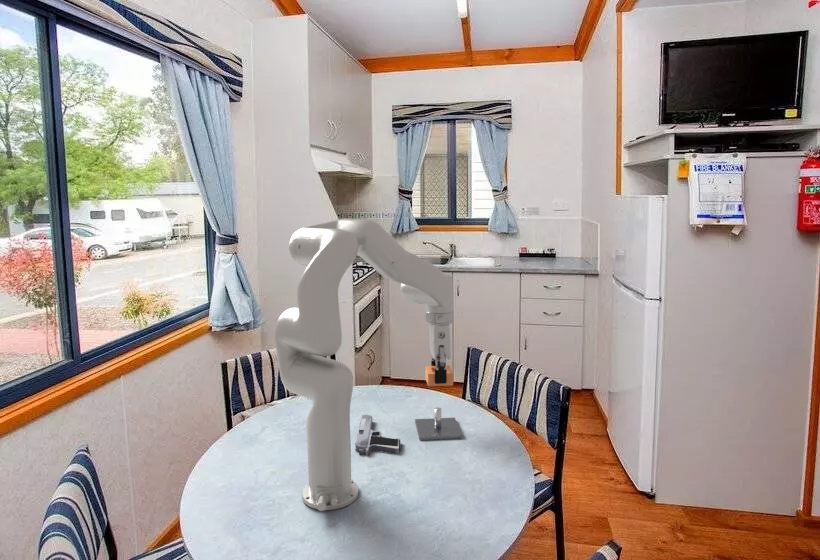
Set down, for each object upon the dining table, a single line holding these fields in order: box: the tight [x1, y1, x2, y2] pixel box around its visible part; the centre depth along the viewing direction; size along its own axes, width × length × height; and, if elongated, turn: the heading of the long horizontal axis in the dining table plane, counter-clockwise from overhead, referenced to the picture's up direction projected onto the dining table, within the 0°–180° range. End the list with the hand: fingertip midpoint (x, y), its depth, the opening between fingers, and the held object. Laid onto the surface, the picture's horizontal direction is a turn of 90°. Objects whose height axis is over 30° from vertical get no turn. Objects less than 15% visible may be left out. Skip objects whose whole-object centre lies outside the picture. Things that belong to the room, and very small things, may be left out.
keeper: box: [414, 406, 463, 441], centre depth 153 cm, size 12×12×6 cm
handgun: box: [354, 414, 401, 457], centre depth 149 cm, size 2×22×12 cm
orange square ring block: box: [424, 364, 454, 387], centre depth 150 cm, size 7×7×4 cm
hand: (438, 378), depth 150 cm, fingers closed on orange square ring block, 7 cm apart
